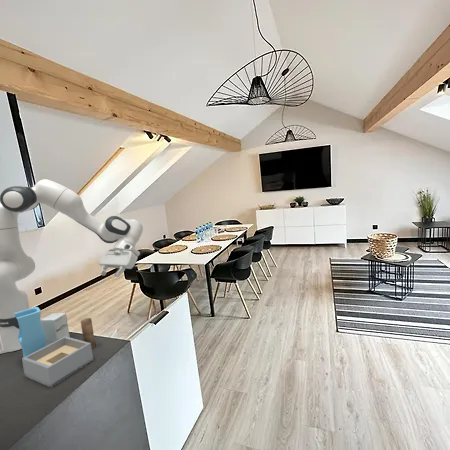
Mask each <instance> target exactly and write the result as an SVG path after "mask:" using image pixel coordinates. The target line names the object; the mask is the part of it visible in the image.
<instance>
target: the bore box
mask: <svg viewBox="0 0 450 450" xmlns="http://www.w3.org/2000/svg"><path fill="white" fill-rule="evenodd" d="M21 360H22V367H23V371H24V377H25V378H27V379H30V380H32V381H34V382H37V383H39V384H42V385H44V386H46V387H48V388H50V389H52V388H53V387H55V386H56V385H58V384H60V382H63V381H64V380H66V378H68V377H70V376H72V375H73V374H74V373H76V372H78V371H79V370H81V369H83V368H84V367H86V366H87V365H88V364H90V363H92V362H93V361H94V356H93V349H92V348H91V343H88V342H85V341H84V340H80V339H76V338H73V337H70V338H69V337H66V336H65V337H63V338H61V339H59V340H57V341H55V342H53V343H51V344H49V345H47V346H45V347H43V348H41V349H39V350H38V351H36V352H34V353H32V354H30V355H28V356H26V357H24V358H23V357H22V358H21Z"/></svg>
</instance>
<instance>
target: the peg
mask: <svg viewBox="0 0 450 450" xmlns="http://www.w3.org/2000/svg"><path fill="white" fill-rule="evenodd" d="M80 326H81V333H82V341H85V342H88V343H91V348H92V350H93V349H94V348H95V347H96V341H95V334H94V327H93V322H92V318H91V317H87V318H83V319H81V321H80Z"/></svg>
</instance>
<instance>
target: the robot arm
mask: <svg viewBox="0 0 450 450" xmlns="http://www.w3.org/2000/svg"><path fill="white" fill-rule="evenodd" d="M40 204H43V205H46V206H48V207H50V208H51V209H54V210H55V211H58V212H60V213H61V214H63V215H65V216H67V217H69V218H70V219H72V220H73V221H75V222H77V223H78V224H79V225H82V226H83V227H85V228H86V229H88V231H89V230H90V231H91V232H92V233H94V234H96V235H97V237H99V239H100V240H101V241H103V243H106V244H114V246H113V248H111V249H108V251H105V252H104V253H103V255H102V256H101V257H100V259H99V260H98V265H99V266H100V267H101V272H100V273H99V274H100V275H101V276H106V274H107V270H108V268H111V269H117V271H116V272H115V273H114V276H115V277H117V278H119V277H120V276H121V274H122V273H123V272H125V271H126V269H127V270H132V269H133V268H134V266H135V264H136V263H137V260H138V257H139V256H140V255H141V252H140V251H139V250H138V249H137V248H136V244H137V243H138V242H139V241H140V238H141V237H142V234H143V231H144V226H143V224H142V223H141V221H139V220H137V219H135V218H132V219H127V218H122V217H120V216H117V215H111V216H108V218H106V220H105V221H104V222H103V221H101V220H100V219H99V218H96V217H95V216H93V215H91V214H90V213H89V212H88V211H87V210H86V207H85V206H84V202H83V199H82V197H81V196H80V195H79V194H78V193H77V192H75V191H74V190H72V189H70V188H68V187H66V186H65V185H63V184H61V183H58V182H56V181H53V180H50V179H46V178H44V179H41V180H38V181H37V182H36V183H35V184H34V186H33V187H31V186H25V185H17V186H16V185H14V186H9V187H7V188H5V189H4V190H3V191H1V193H0V354H1V355H2V354H5V353H11V352H14V351H19V350H22V347H21V344H20V342H19V339H18V336H19V323H18V320H17V318H16V316H15V314H14V313H16V312H19V311H23V310H26V309H30V303H29V302H30V301H29V297H28V294H27V292H25V291H23V290H20V289H19V288H18V286H17V284H16V282H18V281H21V280H23V279H25V278H27V277H29V276H30V275H31V274H32V273H34V271H35V270H36V262H35V261H34V259H33V258H32V257H31V256H30V255H27V253H26V252H25V251H24V249H23V247H22V244H21V238H20V233H19V232H20V231H19V224H18V218H19V217H18V216H19V215H20V214H22V213H24V212H28V211H31V210H33V209H36V208H37V207H38V206H39V205H40Z"/></svg>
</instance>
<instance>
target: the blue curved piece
mask: <svg viewBox="0 0 450 450" xmlns="http://www.w3.org/2000/svg"><path fill="white" fill-rule="evenodd" d="M29 308H30V307H29ZM41 312H42V311H41V309H40V308H39V307H38V306H34V307H31V308H30V309H26V310H23V311H19V312H16V313H14V314H15V316H16V318H17V320H18V323H19V336H18V339H19V342H20V344H21V347H22V349H21V351H22V358H24V357H26V356H28V355H30V354H32V353H34V352H36V351H38V350H39V349H41V348H43V347H45V346H46V335H45V333H44V331H43V329H42V326H41V321H40V320H41V315H42V313H41Z"/></svg>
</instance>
